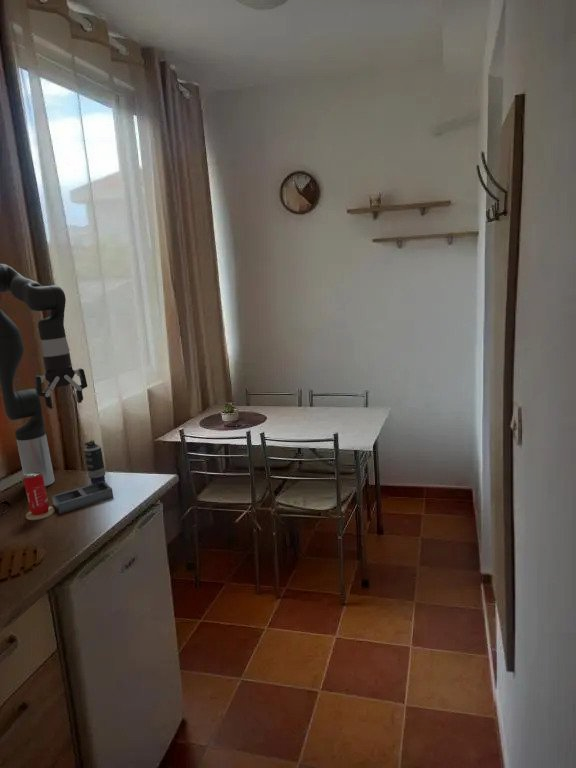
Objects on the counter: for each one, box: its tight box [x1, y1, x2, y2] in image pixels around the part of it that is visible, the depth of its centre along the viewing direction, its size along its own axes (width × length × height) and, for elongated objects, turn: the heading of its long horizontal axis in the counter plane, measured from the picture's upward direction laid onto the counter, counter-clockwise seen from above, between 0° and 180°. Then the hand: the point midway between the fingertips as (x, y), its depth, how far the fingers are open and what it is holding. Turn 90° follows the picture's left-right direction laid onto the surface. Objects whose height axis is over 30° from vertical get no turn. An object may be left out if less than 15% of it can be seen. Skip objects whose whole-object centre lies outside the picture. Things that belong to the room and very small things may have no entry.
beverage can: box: [23, 471, 50, 515], centre depth 160 cm, size 5×5×12 cm
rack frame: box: [51, 481, 114, 515], centre depth 168 cm, size 9×16×3 cm, turn 125°
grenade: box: [79, 439, 106, 485], centre depth 182 cm, size 5×7×15 cm
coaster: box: [25, 505, 56, 521], centre depth 162 cm, size 8×8×1 cm
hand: (65, 405), depth 166 cm, fingers open, 8 cm apart
